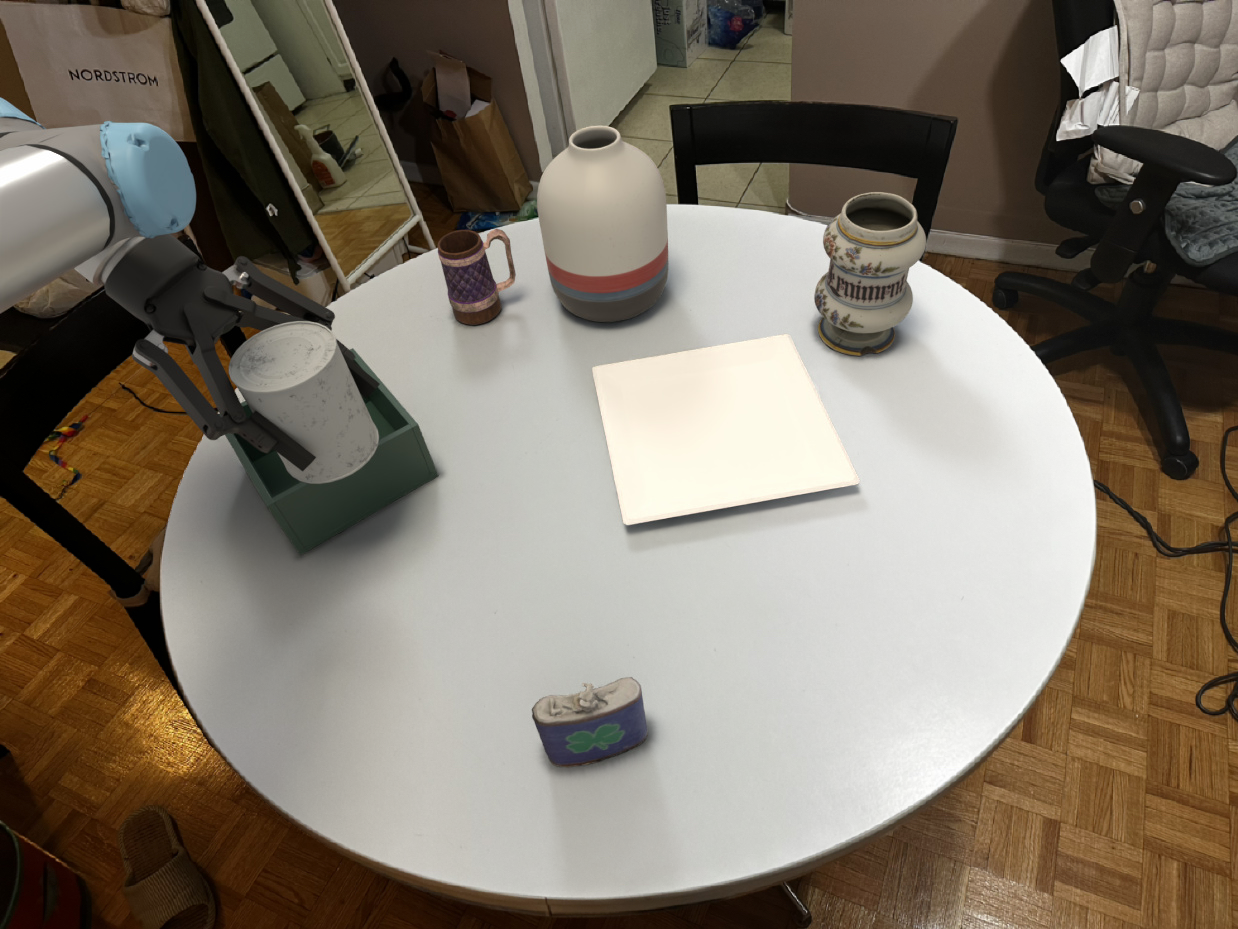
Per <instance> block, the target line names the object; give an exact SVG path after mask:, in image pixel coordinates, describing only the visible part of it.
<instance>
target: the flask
mask: <svg viewBox="0 0 1238 929" xmlns="http://www.w3.org/2000/svg"><path fill="white" fill-rule="evenodd" d="M581 687H585V690H584V691H582V690H581V691H579V692H577V693H572V694H570V693H569V694H564V695H562V694H560V695H559V694H558V695H555V694H551V695H547V696H546V695H545V696H543V697H541V698H539V699H538V700H537V702H535V703H534V705H533V707H532V708H531V713H532V714H531V718H532V720H533V722H534V725H535V728H536V731H537V734H538V736H539V739H540V741H541V744H542V747H543V750H544V753H545V754H546V756H547V758H548V760H549V762H550V763H551V764H552V765H553V766H556V767H558V768H560V767H563V768H571V767H581V766H585V765H586V766H588V765H593V764H595V763H599V762H601V761H604V760H606V759H610V758H613V757H615V756H618V755H620V754H624V753H627V752H628V751H630V750H634V749H636V748H637V747H638V746H639V745H641V744H643V743H644V741H646V738H647V737H648V733H649V730H648V729H649V728H648V723H647V719H646V718H647V717H646V711H645V705H644V698H643V690H642V685H641V684H640V682H639V681H638V680H637V679H635V678H633V677H632V676H625V677H621V678H619V679H616V680H615V681H612V682H609V683H607V684H605V685H603V686H598V687H597V688H596V687H595V686H594V685H593V684H592V683H587V682H583V683H582V684H581ZM594 687H595V688H594Z"/></svg>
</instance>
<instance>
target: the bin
mask: <svg viewBox="0 0 1238 929" xmlns="http://www.w3.org/2000/svg"><path fill="white" fill-rule="evenodd" d="M349 350H350V351H352V352H353V354H354V355H355V357H356V358H355V359H354V360H353V362H354V363H356V364H357V365H358V366H359V367H360V368H362V369H363V370H364V371H365V372H366V373H368V374H369V375H370V376H371V377H372V378H374V379H375V380H376V381H377V382H378V383H380V385H379V386H378V387H377V388H376V389H375V390H374V391H373V392H372V393H371V394H370V395H369V396H368V397H367V398H365V397H364V396H362V395H361V394H360V395H361V397H362V399H363V401H364V403H365V406H366V408H367V410H368V412H369V414H370V417H371V419H372V421H373V423H374V424H375V426H376V428H377V430H378V434H379V441H378V446H377V449H376V451H375V453H374V455H373V456H372V457H371V459H370V460H369V461H368V462H367V463H366V464H365V465H364V466H363V467H362V468H361V469H359V470H358V471H356V472H355V473H353V474H351V475H349V476H347V477H345V478H343V479H340V480H337V481H333V482H329V483H322V484H314V483H306V482H303V481H300V480H298V479H296V478H294V477H292V475H291V474H290V473H289V472H288V471H287V469H286V467H285V465H284V463H283V461H282V460H281V458H280V456H279V455H278V453H277V452H276V451H275V450H274V449H271V450H270V451H269V452H268V453H264V452H261V451H260V450H258V449H257V448H256V447H255V446H253V445H252V444H251V443H249V442H248V441H247V440H245V439H244V438H243V437H241V436H240V435H239V434H237V433H234V434H230V433H228V434H225V435H224V436H225V438H226V440H227V441H228V443H229V445H230V446H231V448H232V450H233V452H234V454H235V455H236V457H237V458H238V460H239V461H240V463H241V465H242V466H243V468H244V470H245V472H246V473H247V475H248V477H249V478H250V480H251V482H252V484H253V486H254V487H255V489H256V491H257V492H258V494H259V495H260V497H261V499H262V500H263V503H264V504H265V506H266V507H267V509H268V510H269V512H270V513H271V515H272V516H273V518H274V519H275V521H276V522H277V524H278V525H279V527H280V528H281V529H282V531H283V532H284V534H285V536H286V537H287V539H288V540H289V541H290V543H291V544H292V546H293V547H294V549H295V550H296V552H297V553H298V554H299V556H302V555H303V554H305V553H307V552H309V551H310V550H313V549H314V548H316V547H317V546H319V545H321V544H323V543H324V542H326V541H329V540H330V539H332V538H333V537H334V536H336V535H338V534H341V533H342V532H343V531H345V530H347V529H349V528H351V527H352V526H353V525H356V524H358V523H359V522H360V521H363V520H364V519H366V518H368V517H370V516H371V515H373V514H374V513H376V512H378V511H380V510H382V509H384V508H386V507H387V506H388V505H390V504H392V503H394V502H395V501H398V500H399V499H401V498H402V497H404V496H406V495H408V494H410V493H411V492H413V491H414V490H416V489H418V488H420V487H421V486H423V485H426V484H427V483H429V482H430V481H433V480H434V479H436V478H437V477H439V472H438V471H437V468H436V465H435V463H434V461H433V458H432V456H431V453H430V451H429V448H428V445H427V443H426V441H425V438H424V435H423V432H422V430H421V428H420V425H419V423H418V422H417V421H416V420H415V418H414V417H413V416H412V415H411V414H410V413H409V412H408V410H407V409H406V408H405V407H404V406H403V405H402V404H401V402H400V401H399V400H398V398H396V396H395V395H394V394H393V393H392V391H391V390H389V388H388V387H387V386H386V385H385V384H384V383H383V381H382V380H381V379H380V378H379V376H377V374H376V373H375V372H374V370H372V368H371V367H370V366H369V365H368V364H367V363H366V362H365V360H364V359H363V358H362V356H360V355H359V353H358V352H357V351H356V349H354V348H353V347H352V348H349ZM240 403H241V405H242V407H243V409H244V411H245V413H246V416H247V417H248V418H249V417H250V416H251V415H252V414H253V412H252V411H251V409H250V407H249V406H248V404H247V402H246V401H245V400H243V401H242V402H240ZM218 414H219V415H220V413H219V412H218ZM220 417H221V415H220Z"/></svg>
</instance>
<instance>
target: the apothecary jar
mask: <svg viewBox="0 0 1238 929" xmlns="http://www.w3.org/2000/svg"><path fill="white" fill-rule="evenodd" d="M840 212H841V213H839V214H837V215H836V216H835V217H834V218H833V219H831V221H829V223H828V224H827V225H826V228H825V230H824V232H823V235H822V236H823V237H822V245H823V250H824V251H825V253H826V255H827V257H828V258H829V265H828V271H827V272H825V273H824V274H823V275H822V277H820V279H819V280H818V282H817V284H816V286H815V291H814V293H813V294H814V305H815V308H816V309H817V311H818V313H819V314H820V316H822V318H821V319H820V320H819V322H818V325H817V332H818V335H819V337H820V339H821V340H822V342H823V343H824V344H825V345H826V346H828V347H829V348H830V349H832V350H834V351H836V352H839V353H841V354H844V355H848V356H856V357H857V356H858V357H862V356H863V355H866V354H869V353H872V354H879V353H881V352H884V351H885V350H887V349H888V348H890V346H891V345H892V344H893V342H894V340H895V337H896V332H895V326H897V325H899V324H900V323H902V321H903V320H904V319H906V317H907V316H908V314H909V313H910V311H911V310H912V306H913V303H914V294H913V290H912V288H911V285H910V284H909V282H908V276H909V272H910V268H912V266H915V264H917V262H919V261H920V259H922V256H923V255H924V253H925V250H926V246H927V236H926V233H925V230H924V228H923V227H922V225H921V224H920V222H919V221H918V212H917V209H916V207H915V206H914V205H913V203H912V202H910V201H909V200H908V199H907V198H905V197H904V196H901V195H898V194H895V193H890V192H884V191H883V192H881V191H873V192H865V193H861V194H858V195H855V196H853V197H851V198H850V199H848V200H847V201H846V202H845V203H844V204H843V206H842V209H841V211H840Z"/></svg>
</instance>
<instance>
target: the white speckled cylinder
mask: <svg viewBox="0 0 1238 929" xmlns="http://www.w3.org/2000/svg"><path fill="white" fill-rule="evenodd" d="M336 339H337V337H336V336H335V334H334V332H333V331H331V330H329V329H328V328H327V327H326V326H323V325H321V324H319V323H314V322H309V321H296V322H288V323H283V324H280V325H276V326H273V327H270V328H268V329H265V330H263V331H261V330H260V331H259V332H258V333H255V334H253V335H252V336H251V337H250V338H248V339H247V340H245V341H243V343H242V344H241V345H240V346H239V347H238V348H237V349H236V350H235V352H234V354H233V355H232V357H231V358H230V361H229V364H228V375H229V377H230V378H229V379H230V381H231V383H233V384H234V385H235V386H236V388H237V390H238V391H239V393H240V394H241V396H242V398H243V399H244V401H246V402H247V404H248V406H249V407H250V409H251V411H252V412H253V413H254V412H255V411H257V412H259V413H260V414H261V415H262V416H264V417H265V418H266V419H268V420H269V421H270V422H271V423H273V424H274V425H275V426H277V427H278V428H279V429H280V430H282V431H283V432H284V433H286V434H287V435H288V436H290V437H291V438H292V439H293V440H295V441H296V442H297V443H299V444H300V445H301V446H302V447H304V448H305V449H306V450H308V451H309V452H310V453H311V454H313V455H314V456H315V457H316V458H315V459H314V461H313V462H312V463H311V464H310V465H309V466H308V467H307V468H306V469H305V470H304V471H301V470H300V469H299V468H297V467H296V466H295V465H293V464H292V463H291V462H289V461H288V460H287V459H286V458H284V457H283V456H282V455H280V454H279V453H278V452H277V453H278V455H279V456H280V458H281V460H282V461H283V463H284V465H285V467H286V469H287V471H288V472H289V473H290V474H291V475H292V477H294V478H296V479H298V480H300V481H303V482H306V483H314V484H322V483H329V482H333V481H337V480H340V479H343V478H345V477H347V476H349V475H351V474H353V473H355V472H356V471H358V470H359V469H361V468H362V467H363V466H364V465H365V464H366V463H367V462H368V461H369V460H370V459H371V457H372V456H373V455H374V453H375V451H376V449H377V446H378V441H379V434H378V430H377V428H376V426H375V424H374V423H373V421H372V419H371V417H370V414H369V412H368V410H367V408H366V406H365V403H364V401H363V399H362V397H361V395H360V392H359V390H358V388H357V386H356V384H355V381H354V379H353V377H352V375H351V373H350V371H349V368H348V366H347V364H346V362H345V360H344V357H343V355H342V353H341V351H340V349H339V346H338V344H337V340H338V339H337V340H336Z"/></svg>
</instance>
